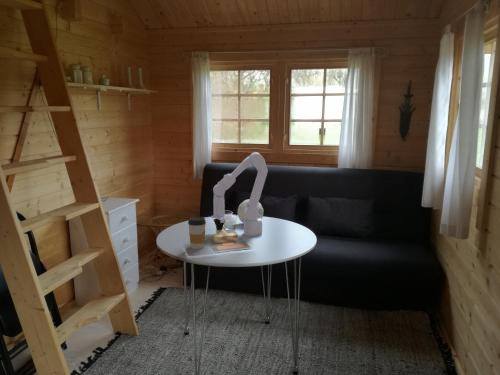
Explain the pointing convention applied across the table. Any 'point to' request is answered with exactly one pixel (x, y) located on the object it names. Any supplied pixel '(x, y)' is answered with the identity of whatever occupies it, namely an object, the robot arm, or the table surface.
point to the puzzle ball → (242, 207)
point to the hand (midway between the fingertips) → (219, 232)
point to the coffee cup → (197, 232)
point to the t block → (224, 236)
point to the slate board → (226, 244)
